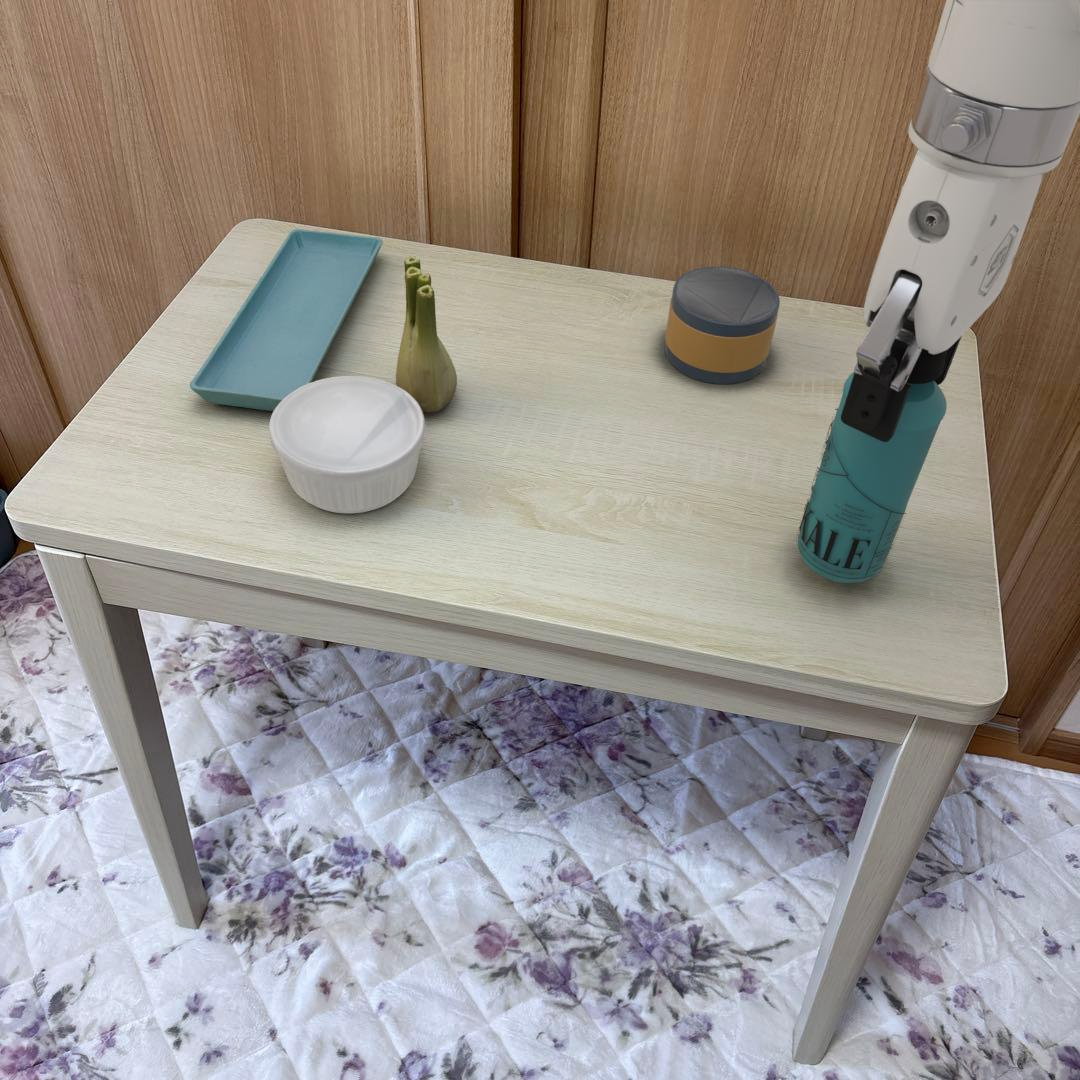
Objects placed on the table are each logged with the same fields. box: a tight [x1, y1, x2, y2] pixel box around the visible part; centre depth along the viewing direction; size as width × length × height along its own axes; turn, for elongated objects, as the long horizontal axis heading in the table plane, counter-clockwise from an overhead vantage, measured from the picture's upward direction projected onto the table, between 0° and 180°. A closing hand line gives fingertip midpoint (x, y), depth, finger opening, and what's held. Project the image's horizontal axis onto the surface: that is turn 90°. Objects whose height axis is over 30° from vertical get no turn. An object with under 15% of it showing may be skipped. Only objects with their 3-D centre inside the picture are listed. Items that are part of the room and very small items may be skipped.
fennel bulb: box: [395, 255, 458, 413], centre depth 83 cm, size 6×5×12 cm
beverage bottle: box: [796, 319, 948, 584], centre depth 68 cm, size 6×7×20 cm
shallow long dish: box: [189, 228, 384, 412], centre depth 93 cm, size 26×9×2 cm, turn 171°
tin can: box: [664, 265, 781, 385], centre depth 91 cm, size 9×9×6 cm
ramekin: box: [268, 375, 426, 514], centre depth 78 cm, size 11×11×5 cm
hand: (893, 399), depth 65 cm, fingers closed on beverage bottle, 6 cm apart
